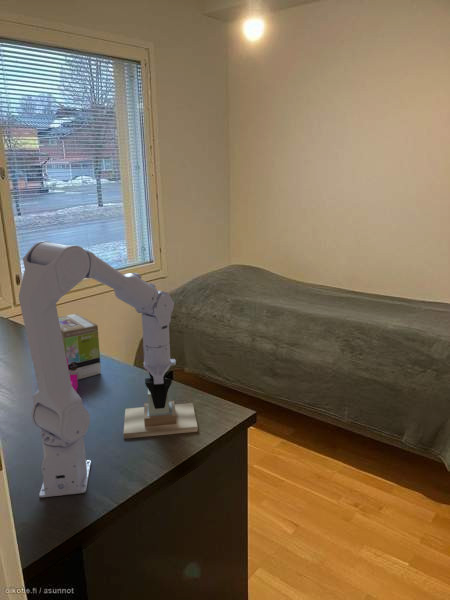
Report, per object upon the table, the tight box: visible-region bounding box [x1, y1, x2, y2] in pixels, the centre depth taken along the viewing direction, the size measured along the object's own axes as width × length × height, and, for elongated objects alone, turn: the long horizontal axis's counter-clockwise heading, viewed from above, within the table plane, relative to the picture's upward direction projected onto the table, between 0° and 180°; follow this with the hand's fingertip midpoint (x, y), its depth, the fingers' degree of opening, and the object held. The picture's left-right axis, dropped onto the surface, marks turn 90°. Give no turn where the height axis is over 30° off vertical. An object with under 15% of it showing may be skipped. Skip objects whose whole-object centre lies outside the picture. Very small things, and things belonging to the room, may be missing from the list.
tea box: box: [58, 313, 102, 381], centre depth 134 cm, size 15×10×15 cm, turn 38°
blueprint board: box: [122, 400, 199, 439], centre depth 107 cm, size 11×16×3 cm
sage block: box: [147, 388, 170, 415], centre depth 106 cm, size 4×4×5 cm
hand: (159, 399), depth 106 cm, fingers open, 7 cm apart
